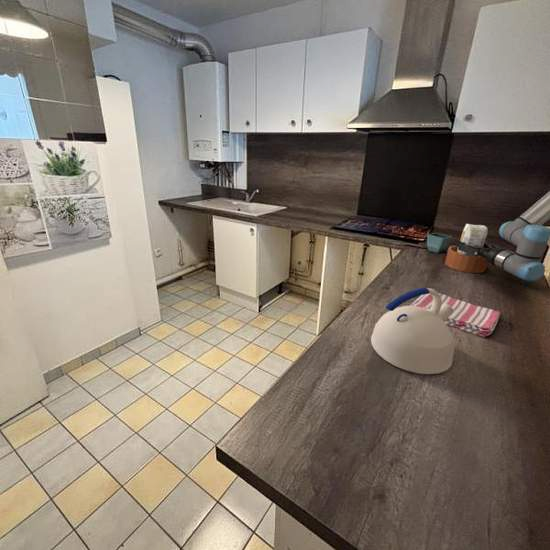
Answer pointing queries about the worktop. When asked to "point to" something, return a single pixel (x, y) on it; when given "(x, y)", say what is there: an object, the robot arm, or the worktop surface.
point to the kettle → (415, 335)
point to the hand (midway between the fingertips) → (464, 242)
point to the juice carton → (473, 236)
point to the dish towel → (464, 314)
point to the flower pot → (437, 242)
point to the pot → (465, 261)
